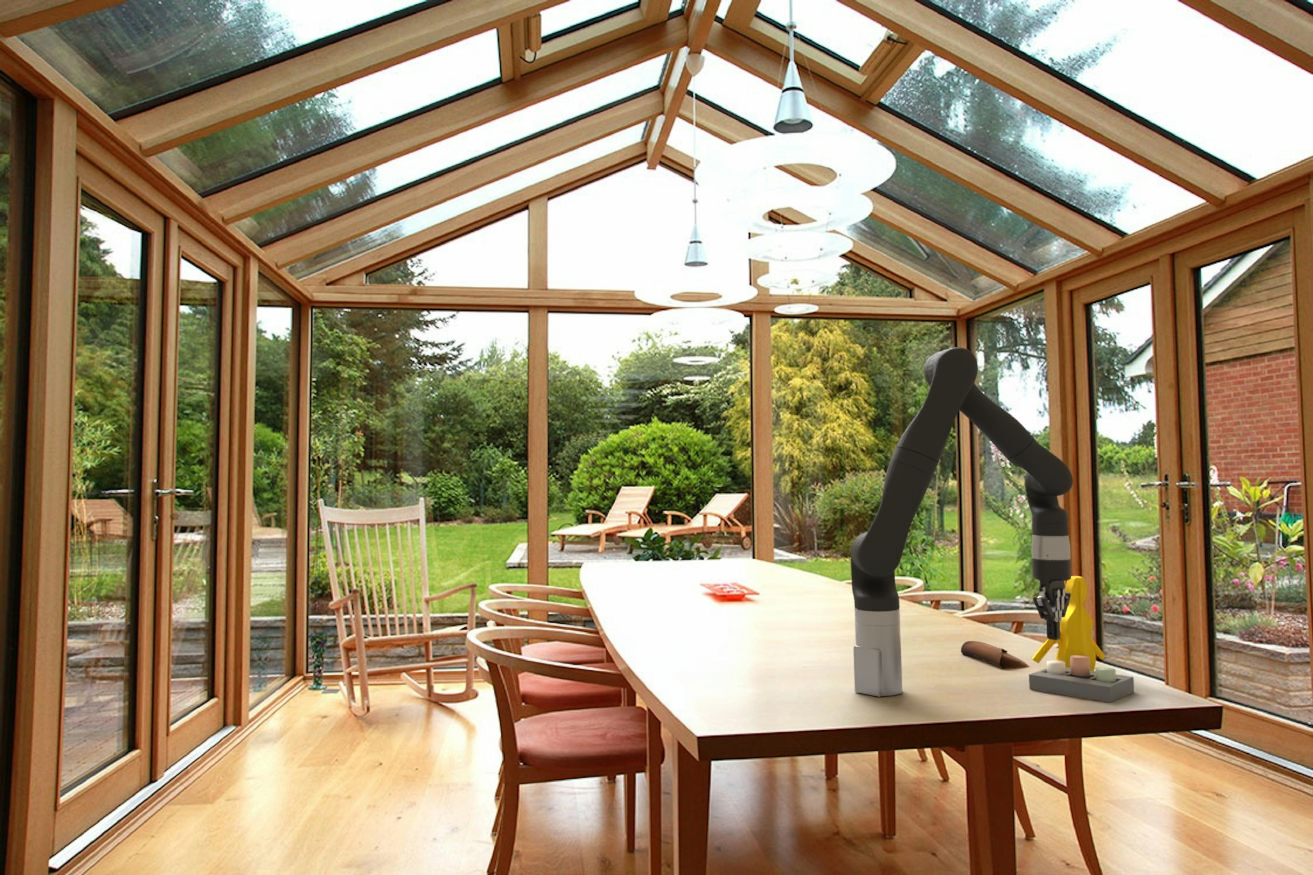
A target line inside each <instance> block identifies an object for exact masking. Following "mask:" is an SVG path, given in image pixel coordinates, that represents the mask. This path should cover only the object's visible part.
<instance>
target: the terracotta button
mask: <svg viewBox="0 0 1313 875" xmlns="http://www.w3.org/2000/svg"><path fill="white" fill-rule="evenodd" d="M1070 666H1071V674H1072V675H1076V676H1090V660H1089V657H1087V656H1081V655H1073V656H1070Z"/></svg>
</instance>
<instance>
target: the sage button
mask: <svg viewBox="0 0 1313 875" xmlns="http://www.w3.org/2000/svg"><path fill="white" fill-rule="evenodd" d="M1094 670H1095V671H1096V681H1103V682H1109V683H1114V682H1116V669H1115V668H1113V667H1108V666H1107V667H1105V666H1102V667H1101V666H1098V667H1095V669H1094Z"/></svg>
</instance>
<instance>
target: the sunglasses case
mask: <svg viewBox="0 0 1313 875" xmlns="http://www.w3.org/2000/svg"><path fill="white" fill-rule="evenodd" d="M960 652H961V654H962V655H966V656H971V657H975V658H977V659H980V660H983V661H985V662H987V663H990V664H992V665H995V666H997V667H1000V669H1002V670H1009V669H1010V670H1011V669H1021V668H1030V666H1029V664H1028V663H1026V662H1025V661H1024V660H1021V659H1020V658H1018V657H1016V656H1015V655H1012V654H1011V653H1008V650H1005V649H1004V648H1001V647H997V646H994V645H993V644H989V643H987V642H981V641H977V640H967V641H965V642H964V643H963V644H962V645H961V648H960Z"/></svg>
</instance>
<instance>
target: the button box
mask: <svg viewBox="0 0 1313 875" xmlns="http://www.w3.org/2000/svg"><path fill="white" fill-rule="evenodd" d="M1065 669H1066V674H1064V675H1057V674H1050V673H1047V667H1046V668H1044V669H1040V670H1038V671H1035V672H1032V673H1029V674H1028V682H1029V685H1028V686H1029V690H1034V691H1040V692H1045V693H1049V694H1050V693H1052V694H1057V695H1061V696H1062V695H1064V696H1068V697H1075V698H1081V699H1087V700H1092V701H1097V702H1098V701H1099V702H1106V703H1113V702H1114V701H1117V700H1119V699H1121V698H1123V697H1126V696H1127V695H1130V694H1132V693H1135V685H1134V676H1128V675H1123V674H1116V682H1114V683H1109V682H1103V681H1096V670H1094V671H1090V676H1076V675H1072V674H1071V668H1068V667H1065Z"/></svg>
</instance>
